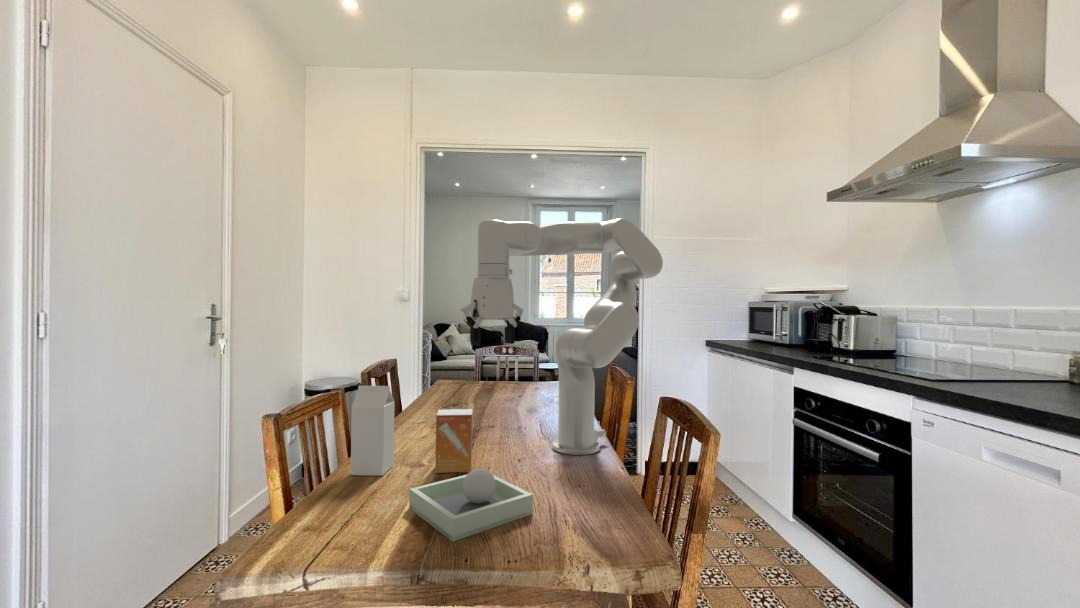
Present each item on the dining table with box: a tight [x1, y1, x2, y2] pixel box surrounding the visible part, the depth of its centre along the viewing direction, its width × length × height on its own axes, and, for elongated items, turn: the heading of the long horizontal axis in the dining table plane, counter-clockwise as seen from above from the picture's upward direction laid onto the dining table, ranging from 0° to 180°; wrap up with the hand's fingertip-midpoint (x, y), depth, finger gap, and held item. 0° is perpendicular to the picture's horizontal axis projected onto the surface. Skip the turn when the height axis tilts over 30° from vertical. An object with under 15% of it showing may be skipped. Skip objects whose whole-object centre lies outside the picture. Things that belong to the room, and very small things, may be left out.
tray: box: [408, 474, 534, 543], centre depth 84 cm, size 16×16×4 cm
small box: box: [434, 408, 474, 474], centre depth 107 cm, size 8×6×13 cm
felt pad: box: [436, 494, 499, 515], centre depth 84 cm, size 10×10×1 cm
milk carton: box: [350, 385, 395, 477], centre depth 105 cm, size 7×7×19 cm
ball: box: [463, 468, 496, 504], centre depth 85 cm, size 6×6×6 cm
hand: (493, 344), depth 111 cm, fingers open, 9 cm apart
